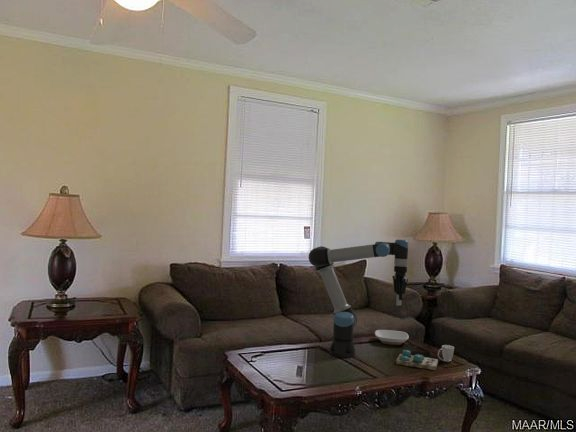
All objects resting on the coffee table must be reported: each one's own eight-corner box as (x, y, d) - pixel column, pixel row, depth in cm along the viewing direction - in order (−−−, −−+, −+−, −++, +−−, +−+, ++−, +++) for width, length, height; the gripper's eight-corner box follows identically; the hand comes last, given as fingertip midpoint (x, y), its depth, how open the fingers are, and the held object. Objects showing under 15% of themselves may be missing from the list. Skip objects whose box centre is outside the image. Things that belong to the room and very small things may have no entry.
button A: (399, 362, 261) (400, 357, 261) (401, 360, 265) (401, 355, 265) (407, 364, 260) (408, 358, 260) (409, 361, 264) (409, 356, 264)
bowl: (374, 345, 296) (374, 337, 296) (374, 336, 318) (374, 328, 318) (409, 348, 293) (410, 339, 293) (407, 339, 314) (407, 331, 314)
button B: (401, 356, 267) (402, 351, 267) (403, 354, 271) (403, 349, 271) (409, 358, 266) (409, 352, 266) (410, 355, 270) (411, 350, 270)
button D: (414, 361, 265) (414, 356, 265) (415, 359, 269) (415, 354, 269) (422, 362, 263) (422, 357, 263) (423, 360, 267) (423, 355, 267)
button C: (412, 362, 259) (413, 356, 259) (413, 359, 263) (414, 354, 263) (421, 363, 257) (421, 357, 257) (422, 361, 261) (422, 355, 261)
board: (396, 363, 261) (396, 359, 261) (400, 357, 274) (400, 352, 273) (435, 370, 253) (435, 365, 252) (437, 362, 265) (438, 358, 265)
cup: (456, 362, 268) (457, 348, 268) (441, 363, 265) (442, 349, 265) (448, 358, 275) (449, 344, 274) (434, 359, 271) (434, 345, 271)
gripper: (412, 267, 275) (410, 307, 276) (399, 264, 287) (397, 302, 288) (401, 267, 272) (399, 307, 273) (389, 264, 285) (387, 303, 285)
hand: (398, 305), depth 280 cm, fingers closed
